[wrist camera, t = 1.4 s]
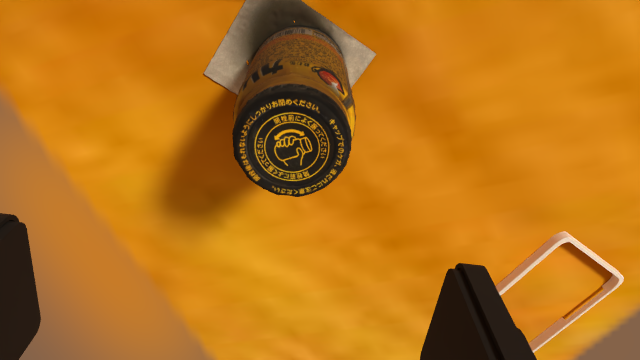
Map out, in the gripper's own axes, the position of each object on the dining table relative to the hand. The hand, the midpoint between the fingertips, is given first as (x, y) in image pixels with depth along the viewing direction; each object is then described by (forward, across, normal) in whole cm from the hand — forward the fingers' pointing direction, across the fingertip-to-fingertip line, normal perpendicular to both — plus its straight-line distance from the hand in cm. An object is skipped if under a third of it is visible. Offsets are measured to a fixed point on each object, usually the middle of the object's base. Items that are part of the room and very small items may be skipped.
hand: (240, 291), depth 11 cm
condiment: (+23, 0, 0) cm, 23 cm away
